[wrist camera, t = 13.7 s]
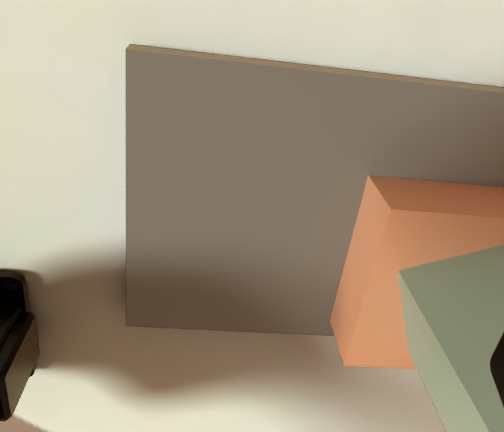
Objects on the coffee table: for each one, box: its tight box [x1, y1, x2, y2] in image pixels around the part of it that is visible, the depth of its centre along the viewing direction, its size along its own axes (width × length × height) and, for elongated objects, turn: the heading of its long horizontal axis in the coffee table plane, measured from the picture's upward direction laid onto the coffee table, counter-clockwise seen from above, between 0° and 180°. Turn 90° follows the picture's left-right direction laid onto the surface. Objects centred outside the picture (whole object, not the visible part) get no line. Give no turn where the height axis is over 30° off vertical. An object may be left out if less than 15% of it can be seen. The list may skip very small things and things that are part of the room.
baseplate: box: [126, 44, 504, 369], centre depth 20 cm, size 20×13×4 cm, turn 83°
